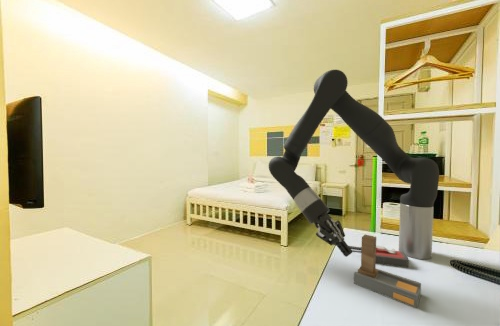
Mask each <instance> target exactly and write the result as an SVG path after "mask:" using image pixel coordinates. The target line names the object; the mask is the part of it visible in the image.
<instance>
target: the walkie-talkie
mask: <svg viewBox="0 0 500 326" xmlns="http://www.w3.org/2000/svg"><path fill="white" fill-rule="evenodd" d="M348 246H349V247H350V249H351V250H354V251H361V249H362V246H352V245H348ZM376 264H380V265H386V266H387V265H388V266H394V267H401V268H405V269H406V268H409V256H407V255H405V253H404V252H401V251H399V250H395V249H394V248H391V249H388V248H387V247H386V246H383V245H382V246H381V245H376Z"/></svg>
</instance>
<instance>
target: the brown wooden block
mask: <svg viewBox="0 0 500 326" xmlns="http://www.w3.org/2000/svg"><path fill="white" fill-rule="evenodd" d="M376 246H377V236H374V235H370V234H364V235H362V236H361V247H362V249H361V250H360V252H361V253H360V254H361V256H360V257H361V258H360V267H359V268H358V269H357V272H358V273H360V274H363V275H366V276H369V277H372V278H374V279H375V278H376V276H377V275H378V271H379V270H380V269H379V270H378V268H377V267H376V264H377V263H376ZM375 268H376V269H375Z"/></svg>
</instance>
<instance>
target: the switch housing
mask: <svg viewBox="0 0 500 326" xmlns="http://www.w3.org/2000/svg"><path fill="white" fill-rule="evenodd" d="M375 269H378V268H377V267H376V268H375ZM378 270H379V271H378V275H377V276H376V278H375V279H374V278H372V277H369V276H366V275H363V274H360V273H358V271H354V273H353V284H355V285H357V286H359V287H361V288H365V289H367V290H369V291H372V292H375V293H377V294H380V295H382V296H385V297H387V298H390V299H392V300H395V301H398V302H400V303H402V304H405V305H408V306H410V307H413V308H415V309H417V308H418V304H419V301H420V297H421V295H422V283H421V282H419V281H416V280H413V279H409V278H406V277H403V276H400V275H397V274H395V273H391V272H388V271H385V270H382V269H378Z"/></svg>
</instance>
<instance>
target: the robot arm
mask: <svg viewBox="0 0 500 326" xmlns="http://www.w3.org/2000/svg"><path fill="white" fill-rule="evenodd" d="M348 82H349V81H348V78H347V75H346V74H345V72H344V71H342V70H340V69H331V70H328V71H326V72H324V73H322V74H321V75H320V76H319V77H318V78H317V79H316V80H315V82H314V83H313V84H314V85H313V92H314V96H313V97H312V100H311V102H310V104H309V105H308V107H307V109H306V110H305V112H304V113H303V114H302V115H301V117H300V118H299V120H298V121H297V123H296V124H295V126H294V127H293V128H292V130H291V132H290V133H289V135H288V137H287V139H286V140H285V142H284V144H283V149H284V152H283V155H282V156H274V157H272V158H271V159H270V160H269V162H268V169H269V170H268V171H269V172H270V174H271V176H272V177H273V178H274V180H276V181H277V182H278V183H279V185H281V186H282V187H283V188H284V190H286V192H287V193H288V194H289V196H290V197H291V199H292V200H293V201H294V203H295V205H296V207H297V208H298V209H299V211H300V212H301V213H302V215H303V216H304V217H305V219H306V220H307V221H308V223H309V224H311V225H312V224H314V226H315V228H316V229H317V232H316V233H315V236H316V237H318V238H319V239H321V240H322V241H323V242H325V243H326V244H329V246H333V245H334V246H336V247H337V248H338V250H340V253H342V255H343V256H344V257H348V256H350V255H351V254H353V249H350V247H349V246H350V245H348V244H347V243H346V241H345V237H346V234H345V230H344V229H343V226H342V224H341V221H340V220H334V219H333V217H332V216H330V215H329V213H330V208H329V207H328V205H327V204H326V203H325V202H324V201H323V200H322V198H321V197H320V196H319V195H318V193H317V192H316V191H315V189H313V188H312V187H311V186H310V184H308V182H307V181H306V180H305V179H304V178H303V177H302V176H301V175H299V174H297V172H296V169H297V167H298V165H299V163H300V159H301V157H302V154H303V153H304V151H305V149H306V147H307V146H308V144H309V143H310V141H311V139H312V138H313V136H314V134H315V132H317V129H318V128H319V126H320V124H321V123H322V121H323V120H324V118H325V116H327V114H328V113H329V112H330V110H332V111H333V112H335V113H336V115H338V116H339V117H340V118H341V120H343V122H344V123H345V124H346V125H347V126H348V127H349V128H350V129H351V131H352V132H354V134H356V135H357V137H358V138H359V139H360V140H361V141H362V142H363V143H365V144H366V146H368V147H369V149H371V150H372V151H373V152H374V153H375V154H376V155H378V156H379V157H380V158H381V159H382V161H384V163H385V164H386V165H387V166H388V168H389V169H390V170H391V171H392V173H393V174H395V176H396V177H397V178H398V179H399V180H400V181H401V182H403V183H406V184H409V185H410V188H409V190H408V192H406V193H403V194H401V195H400V196H399V197H400V198H399V200H400V201H399V225H398V226H399V227H398V228H399V231H398V233H399V236H398V251H401V252H404V253H405V255H406V256H407V257H409V258H414V259H419V260H420V259H421V260H429V259H431V258H432V253H433V231H434V230H433V229H434V226H433V225H434V205H435V201H436V199H437V196H438V190H439V181H440V169H439V166H438V163H437V162H435V160H433V159H430V158H425V157H424V158H422V157H421V158H420V157H412V156H410V155H409V154H408V153H406V152H405V151H404V150H403V149H402V148H401V147H400V145H399V144H398V142H397V138H396V134H395V131H394V129H393V127H392V126H391V125H390V124H389V122H387V121H386V119H385V118H383V117H382V116H381V115H380V114H379V113H378V112H376V111H375V110H373V109H372V108H370V107H368V106H366V105H365V104H363V103H361V102H359V101H358V100H356V99H355V98H353V96H351V94H350V93H349V92H348V91H347V89H348V84H349V83H348Z"/></svg>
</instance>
